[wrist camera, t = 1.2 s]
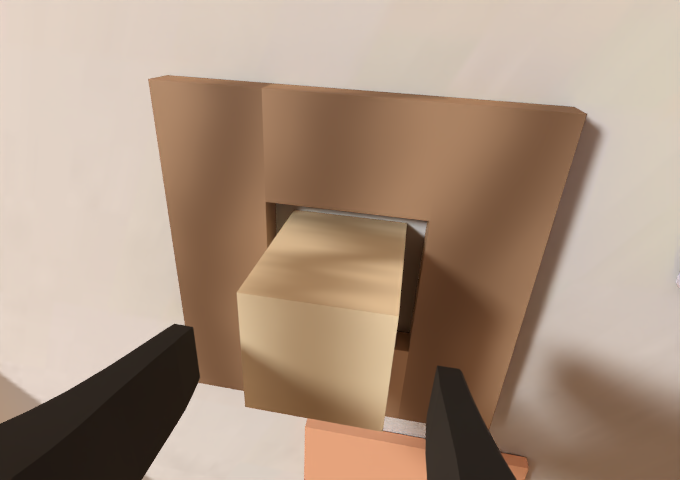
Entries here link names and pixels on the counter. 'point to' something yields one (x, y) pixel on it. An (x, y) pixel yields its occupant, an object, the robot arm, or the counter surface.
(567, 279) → the counter surface
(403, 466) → the tile
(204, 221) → the pocket plate
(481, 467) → the robot arm
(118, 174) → the counter surface
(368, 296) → the birch block
